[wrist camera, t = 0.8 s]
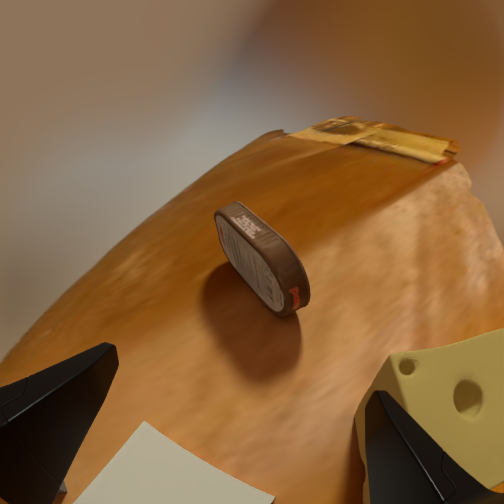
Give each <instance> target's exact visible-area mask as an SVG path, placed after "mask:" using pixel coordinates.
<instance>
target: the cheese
mask: <svg viewBox="0 0 504 504" xmlns="http://www.w3.org/2000/svg"><path fill="white" fill-rule="evenodd" d="M375 390H386V391H387V392H388V393H389V394H390V395H391V396H392V397H393V398H394V399H395V400H396V401H397V402H398V403H399V404H400V405H401V406H402V407H403V408H404V409H405V410H406V411H407V412H408V413H409V414H410V416H411V417H412V418H413V419H414V420H415V421H416V422H417V423H418V424H419V425H420V426H421V427H422V428H423V429H424V430H425V431H426V432H427V433H428V434H429V435H430V436H431V437H432V438H433V439H434V440H435V441H436V442H437V443H438V444H439V445H440V446H441V447H442V449H443V450H444V451H445V452H446V453H447V454H448V455H449V456H450V457H451V458H452V459H453V460H454V461H455V462H456V463H457V464H459V465H460V466H461V467H462V468H463V469H464V470H465V471H467V472H468V473H469V474H470V475H471V476H473V477H474V478H475V479H476V480H477V481H479V482H480V483H481V484H482V485H484V486H485V487H486V488H488V489H489V490H490V489H492V488H494V487H496V486H498V485H499V484H501V483H503V482H504V329H499V330H495V331H491V332H488V333H485V334H482V335H479V336H476V337H473V338H470V339H467V340H464V341H461V342H457V343H454V344H450V345H446V346H441V347H436V348H431V349H424V350H417V351H409V352H401V353H395V354H391V355H389V356H388V358H387V359H386V361H385V362H384V364H383V365H382V367H381V369H380V370H379V372H378V374H377V375H376V377H375V379H374V381H373V383H372V385H371V386H370V388H369V389H368V391H367V392H366V394H365V395H364V397H363V399H362V400H361V402H360V404H359V406H358V409H357V411H356V413H355V423H356V430H357V437H358V444H359V451H360V456H361V459H362V461H363V463H364V465H365V471H366V477H365V482H364V483H363V504H370V496H369V483H368V471H367V461H366V452H365V406H366V404H367V402H368V401H369V399H370V397H371V395H372V394H373V392H374V391H375Z"/></svg>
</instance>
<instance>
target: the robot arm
mask: <svg viewBox="0 0 504 504" xmlns="http://www.w3.org/2000/svg"><path fill="white" fill-rule="evenodd" d="M118 366H119V360H118V355H117V349H116V346H115V345H113V344H110V343H107V342H104V343H101V344H99V345H97V346H95V347H93V348H90V349H88V350H86V351H84V352H82V353H80V354H77V355H75V356H73V357H71V358H69V359H66V360H64V361H62V362H60V363H57V364H55V365H53V366H51V367H49V368H46V369H44V370H42V371H40V372H37V373H35V374H33V375H30V376H29V377H26V378H24V379H21V380H19V381H16V382H14V383H12V384H9V385H6V386H3V387H0V504H53V502H54V500H55V498H56V495H57V493H58V491H59V489H60V487H61V486H60V485H61V484H62V482H63V480H64V478H65V476H66V474H67V472H68V470H69V468H70V466H71V464H72V462H73V460H74V458H75V456H76V454H77V452H78V450H79V448H80V446H81V444H82V442H83V440H84V438H85V436H86V434H87V432H88V430H89V429H90V427H91V425H92V423H93V421H94V419H95V417H96V415H97V414H98V412H99V410H100V408H101V406H102V404H103V402H104V400H105V398H106V396H107V393H108V391H109V388H110V386H111V384H112V381H113V379H114V376H115V374H116V372H117V369H118ZM365 452H366V461H367V471H368V483H369V496H370V504H504V493H497V492H494V491H491V490H489V489H488V488H486V487H485V486H484V485H482V484H481V483H480V482H479V481H477V480H476V479H475V478H474V477H473V476H471V475H470V474H469V473H468V472H467V471H465V470H464V469H463V468H462V467H461V466H460V465H459V464H457V463H456V462H455V461H454V460H453V459H452V458H451V457H450V456H449V455H448V454H447V453H446V452H445V451H444V450H443V449H442V447H441V446H440V445H439V444H438V443H437V442H436V441H435V440H434V439H433V438H432V437H431V436H430V435H429V434H428V433H427V432H426V431H425V430H424V429H423V428H422V427H421V426H420V425H419V424H418V423H417V422H416V421H415V420H414V419H413V418H412V417H411V416H410V414H409V413H408V412H407V411H406V410H405V409H404V408H403V407H402V406H401V405H400V404H399V403H398V402H397V401H396V400H395V399H394V398H393V397H392V396H391V395H390V394H389V393H388V392H387V391H386V390H375V391H374V392H373V394H372V395H371V397H370V399H369V401H368V402H367V404H366V406H365Z"/></svg>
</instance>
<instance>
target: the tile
mask: <svg viewBox="0 0 504 504" xmlns="http://www.w3.org/2000/svg"><path fill="white" fill-rule="evenodd" d="M274 499H275V497H274V496H272V495H270V494H267V493H265V492H263V491H261V490H258V489H256V488H254V487H252V486H250V485H248V484H246V483H244V482H242V481H240V480H238V479H236V478H234V477H232V476H230V475H228V474H226V473H224V472H222V471H221V470H219V469H217V468H215V467H213V466H212V465H210V464H208V463H206V462H205V461H203V460H201V459H200V458H198V457H196V456H195V455H193V454H192V453H190V452H188V451H187V450H185V449H184V448H182V447H181V446H179V445H178V444H176V443H175V442H173V441H172V440H170V439H169V438H167V437H166V436H164V435H163V434H161V433H160V432H159V431H157V430H156V429H155V428H153V427H152V426H150V425H149V424H148V423H146V422H145V421H143V423H142V424H141V425H140V426H139V427H138V429H137V430H136V431H135V432H134V433H133V435H132V436H131V437H130V438H129V439H128V440H127V442H126V443H125V444H124V445H123V446H122V448H121V449H120V450H119V451H118V452H117V453H116V455H115V456H114V457H113V458H112V459H111V461H110V462H109V463H108V464H107V465H106V466H105V468H104V469H103V470H102V471H101V472H100V473H99V475H98V476H97V477H96V478H95V479H94V480H93V481H92V483H91V484H90V485H89V486H88V487H87V488H86V489H85V491H84V492H83V493H82V494H81V495H80V496H79V497H78V499H77V500H76V501H75V502H74V503H73V504H271V503H272V502H273V500H274Z"/></svg>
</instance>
